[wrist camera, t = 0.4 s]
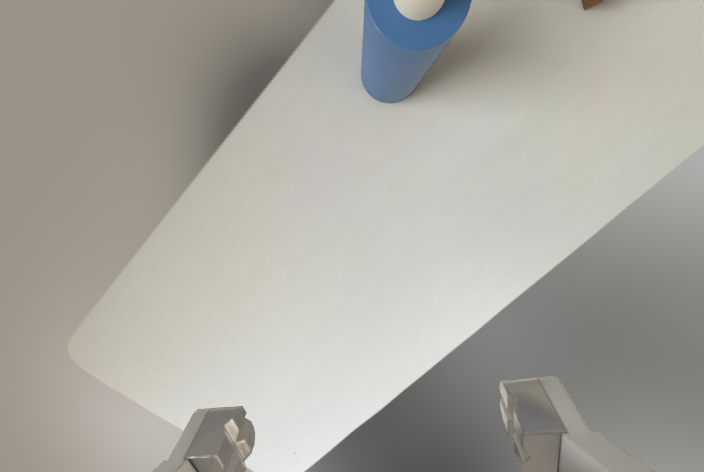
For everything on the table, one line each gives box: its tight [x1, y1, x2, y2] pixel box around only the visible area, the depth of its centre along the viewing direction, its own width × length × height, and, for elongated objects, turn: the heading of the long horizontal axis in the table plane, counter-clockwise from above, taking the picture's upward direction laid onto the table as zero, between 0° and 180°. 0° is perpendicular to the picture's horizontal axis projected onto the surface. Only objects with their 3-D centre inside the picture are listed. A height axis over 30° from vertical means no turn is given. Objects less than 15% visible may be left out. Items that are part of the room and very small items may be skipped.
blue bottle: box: [361, 0, 471, 103], centre depth 21 cm, size 5×5×17 cm
